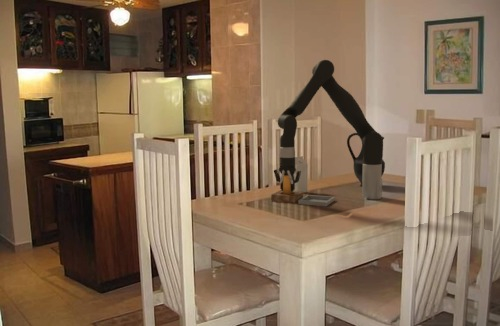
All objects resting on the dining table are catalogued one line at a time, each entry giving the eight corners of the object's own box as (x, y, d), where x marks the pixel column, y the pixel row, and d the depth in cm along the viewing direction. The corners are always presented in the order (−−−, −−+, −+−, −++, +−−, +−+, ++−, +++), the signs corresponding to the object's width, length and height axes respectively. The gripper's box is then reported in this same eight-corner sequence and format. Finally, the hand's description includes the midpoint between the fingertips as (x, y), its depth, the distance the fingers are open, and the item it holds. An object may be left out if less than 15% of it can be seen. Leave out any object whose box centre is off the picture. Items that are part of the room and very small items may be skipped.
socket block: (303, 199, 250) (303, 191, 250) (294, 204, 239) (294, 196, 239) (280, 197, 255) (280, 190, 255) (271, 202, 245) (271, 194, 244)
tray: (334, 202, 244) (334, 196, 244) (326, 207, 232) (326, 202, 232) (307, 199, 250) (307, 194, 249) (298, 205, 238) (298, 200, 237)
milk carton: (288, 192, 270) (288, 156, 267) (298, 190, 274) (298, 155, 271) (297, 194, 264) (297, 158, 262) (307, 192, 268) (307, 156, 266)
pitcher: (385, 189, 273) (386, 134, 269) (346, 188, 277) (346, 134, 273) (383, 183, 290) (384, 131, 286) (346, 182, 294) (347, 131, 290)
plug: (293, 194, 248) (293, 174, 246) (290, 196, 244) (290, 176, 243) (285, 194, 250) (284, 174, 248) (281, 195, 246) (281, 175, 244)
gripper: (303, 155, 244) (303, 190, 247) (276, 154, 251) (276, 188, 253) (298, 157, 238) (298, 193, 240) (270, 156, 244) (271, 191, 246)
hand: (287, 190), depth 247 cm, fingers closed on plug, 4 cm apart
